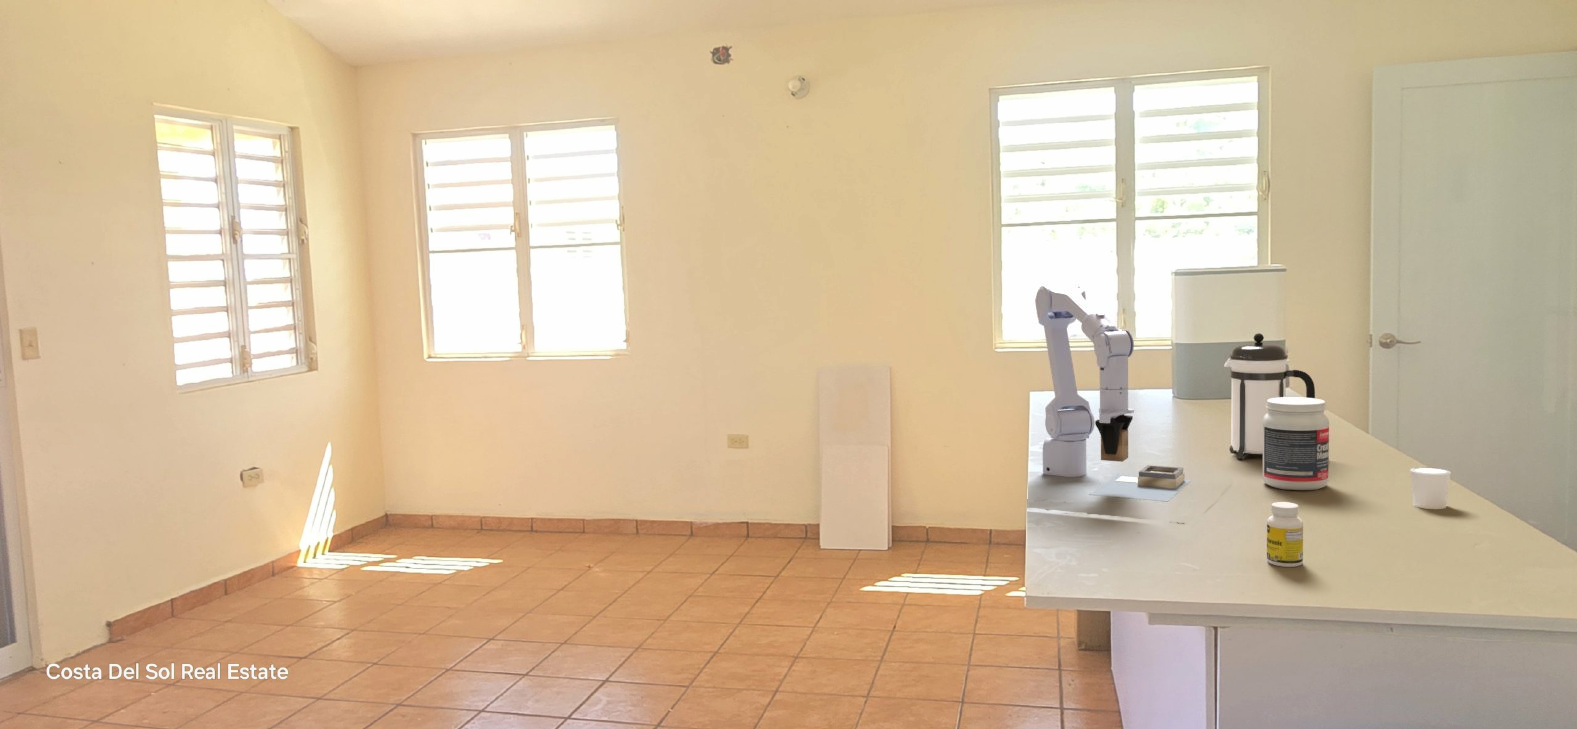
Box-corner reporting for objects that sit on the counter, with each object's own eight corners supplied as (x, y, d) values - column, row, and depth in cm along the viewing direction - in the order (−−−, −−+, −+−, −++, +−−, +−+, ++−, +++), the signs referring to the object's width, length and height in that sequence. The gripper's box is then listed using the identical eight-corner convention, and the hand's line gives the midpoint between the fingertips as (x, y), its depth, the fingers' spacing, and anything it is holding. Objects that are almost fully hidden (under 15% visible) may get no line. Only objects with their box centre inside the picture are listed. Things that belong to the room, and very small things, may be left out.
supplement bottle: (1260, 559, 179) (1260, 501, 178) (1291, 557, 179) (1292, 499, 178) (1277, 568, 174) (1278, 509, 172) (1309, 566, 174) (1310, 507, 173)
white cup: (1445, 502, 211) (1446, 467, 210) (1454, 510, 205) (1455, 474, 204) (1405, 500, 213) (1406, 466, 213) (1413, 509, 207) (1414, 473, 206)
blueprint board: (1088, 498, 226) (1088, 480, 225) (1117, 477, 244) (1117, 461, 244) (1167, 505, 217) (1167, 486, 217) (1191, 483, 236) (1191, 466, 235)
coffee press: (1266, 465, 251) (1267, 337, 248) (1211, 455, 265) (1211, 333, 262) (1316, 456, 259) (1317, 332, 256) (1259, 446, 273) (1260, 329, 270)
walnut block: (1100, 460, 226) (1100, 432, 226) (1106, 456, 230) (1106, 428, 229) (1122, 461, 224) (1122, 433, 223) (1128, 457, 228) (1128, 429, 227)
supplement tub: (1336, 492, 222) (1337, 404, 220) (1270, 492, 225) (1270, 405, 223) (1318, 479, 235) (1320, 396, 233) (1256, 478, 238) (1256, 396, 236)
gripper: (1123, 393, 217) (1124, 459, 219) (1142, 384, 229) (1142, 447, 231) (1089, 392, 221) (1089, 457, 222) (1109, 383, 233) (1109, 444, 235)
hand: (1114, 451), depth 227 cm, fingers closed on walnut block, 4 cm apart
